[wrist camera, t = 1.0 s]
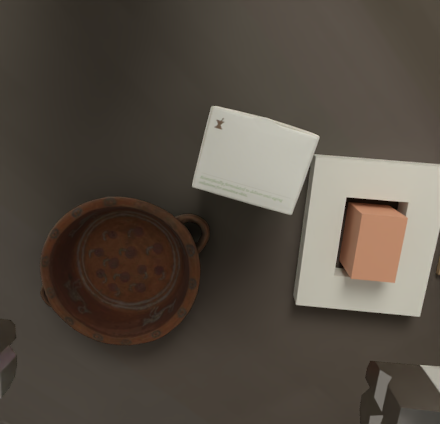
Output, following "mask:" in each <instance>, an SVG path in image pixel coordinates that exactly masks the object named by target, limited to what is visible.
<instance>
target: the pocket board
mask: <svg viewBox="0 0 440 424" xmlns="http://www.w3.org/2000/svg"><path fill="white" fill-rule="evenodd" d="M346 197H350V198H362V199H374V200H385V201H397V202H399V203H398V209H397V211H398V212H400V213H401V214H403V215H404V216H406V217H407V218H408V220H407V225H406V230H405V235H404V240H403V245H402V250H401V255H400V260H399V265H398V270H397V275H396V280H395V283H391V282H380V281H369V280H359V279H351V278H350V276H349V275H348V273H347V272H346V270H345V268H335V266H336V260H337V253H338V247H339V241H340V235H341V228H342V222H343V216H344V210H345V203H346ZM439 229H440V164H430V163H417V162H405V161H393V160H380V159H368V158H356V157H343V156H331V155H318V154H314V155H313V158H312V161H311V166H310V173H309V181H308V188H307V196H306V203H305V211H304V218H303V226H302V233H301V241H300V248H299V256H298V263H297V271H296V278H295V286H294V293H293V296H294V300H295V303H296V305H302V306H313V307H323V308H334V309H344V310H355V311H365V312H376V313H386V314H396V315H407V316H417V317H420V314H421V309H422V305H423V301H424V296H425V292H426V287H427V283H428V278H429V274H430V269H431V265H432V261H433V256H434V252H435V247H436V243H437V238H438V234H439Z"/></svg>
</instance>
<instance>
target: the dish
mask: <svg viewBox="0 0 440 424" xmlns="http://www.w3.org/2000/svg"><path fill="white" fill-rule="evenodd" d="M188 222H192V223H196V224H197V225H198V226H199V227H200V228H201V237H200V239H199V241H198V242H196V243H195V242H194V240H193V238H192V236H191V234H190V232H189V230H188V229H187V228H186V227H185V226H184V224H185V223H188ZM209 236H210V229H209V225H208V223H207V222H206V221H205V220H204V219H203V218H201V217H200V216H198V215H194V214H182V215H178V216H175V217H174V216H173V215H172V214H170V213H169V212H167V211H165V210H164V209H162V208H160V207H157V206H155V205H153V204H151V203H148V202H145V201H142V200H138V199H134V198H127V197H104V198H99V199H94V200H91V201H88V202H86V203H83V204H81V205H79V206H77V207H75V208H74V209H72V210H70V211H69V212H68V213H66V214H65V215H64V216H63V217H62V218H61V219H60V220H59V221H58V222H57V223H56V225H55V226H54V227H53V228H52V229H51V231H50V232H49V234H48V237H47V239H46V241H45V243H44V247H43V249H42V253H41V259H40V274H41V279H42V284H43V285H42V287H41V291H40V294H41V297H42V299H43V300H44V302H45V303H46V304H47V305H48V306H50V307H52V309H53V310H54V311H55V312H56V313H57V314H58V315H59V316H60V317H61V318H62V319H63V320H64V321H65V322H66V323H67V324H68V325H69V326H71V327H72V328H73V329H74V330H76V331H78V332H79V333H81V334H83V335H85V336H87V337H89V338H92V339H94V340H96V341H99V342H103V343H107V344H114V345H135V344H141V343H147V342H151V341H154V340H156V339H159V338H161V337H163V336H165V335H166V334H168V333H169V332H170V331H171V330H172V329H174V328H175V327H176V326H178V325H179V324H180V322H181V321H182V320H183V319H184V318H185V316H186V315H187V314H188V312H189V311H190V309H191V307H192V305H193V303H194V300H195V298H196V295H197V292H198V287H199V282H200V272H201V270H200V260H199V255H198V254H199V253H200V252H201V251H202V249H203V248H204V247H205V245H206V244H207V242H208V240H209Z"/></svg>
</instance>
